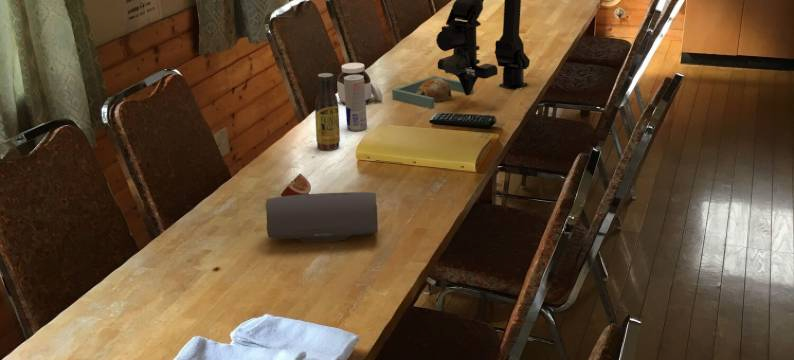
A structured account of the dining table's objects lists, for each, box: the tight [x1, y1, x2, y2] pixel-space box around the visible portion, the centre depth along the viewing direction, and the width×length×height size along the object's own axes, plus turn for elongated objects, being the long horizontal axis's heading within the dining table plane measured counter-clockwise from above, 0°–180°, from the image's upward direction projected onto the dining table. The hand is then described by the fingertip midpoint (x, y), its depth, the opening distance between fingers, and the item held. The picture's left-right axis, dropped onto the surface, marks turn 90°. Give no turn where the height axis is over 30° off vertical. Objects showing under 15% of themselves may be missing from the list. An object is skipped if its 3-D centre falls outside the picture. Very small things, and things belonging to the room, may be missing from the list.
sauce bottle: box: [314, 72, 341, 151], centre depth 247 cm, size 7×6×20 cm
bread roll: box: [417, 78, 452, 103], centre depth 286 cm, size 10×10×8 cm
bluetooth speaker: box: [265, 191, 379, 243], centre depth 197 cm, size 23×9×10 cm, turn 92°
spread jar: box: [336, 62, 383, 106], centre depth 284 cm, size 12×11×12 cm
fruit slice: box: [280, 173, 312, 197], centre depth 218 cm, size 8×7×5 cm
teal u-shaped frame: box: [391, 75, 474, 110], centre depth 288 cm, size 19×16×3 cm
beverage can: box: [344, 75, 368, 132], centre depth 261 cm, size 6×6×15 cm
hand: (467, 95), depth 278 cm, fingers closed
